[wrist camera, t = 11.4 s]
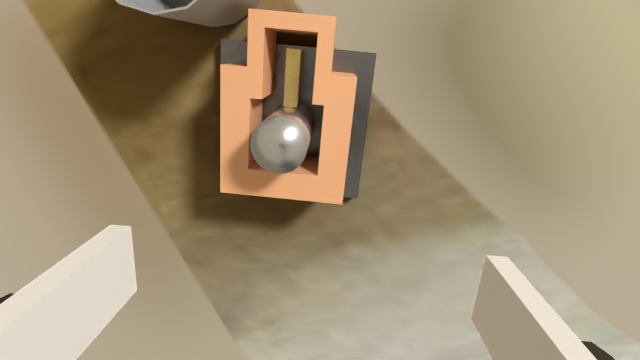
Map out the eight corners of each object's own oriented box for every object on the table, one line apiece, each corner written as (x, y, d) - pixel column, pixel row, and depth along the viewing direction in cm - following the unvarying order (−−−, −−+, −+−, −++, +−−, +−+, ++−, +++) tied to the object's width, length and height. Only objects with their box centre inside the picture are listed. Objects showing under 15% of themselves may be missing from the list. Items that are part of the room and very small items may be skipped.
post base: (356, 194, 33) (363, 242, 25) (223, 181, 33) (184, 224, 25) (375, 53, 29) (390, 53, 21) (224, 39, 29) (178, 33, 21)
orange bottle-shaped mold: (341, 181, 32) (342, 204, 27) (237, 171, 32) (220, 192, 27) (359, 25, 28) (364, 19, 23) (240, 13, 28) (220, 5, 23)
